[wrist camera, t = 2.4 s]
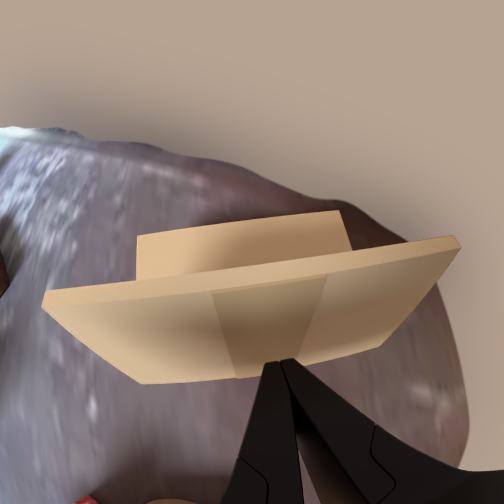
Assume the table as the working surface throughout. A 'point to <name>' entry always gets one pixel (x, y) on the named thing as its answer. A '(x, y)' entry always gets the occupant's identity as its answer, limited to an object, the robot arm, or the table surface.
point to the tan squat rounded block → (170, 501)
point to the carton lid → (252, 312)
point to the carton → (240, 244)
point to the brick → (3, 276)
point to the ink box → (86, 500)
